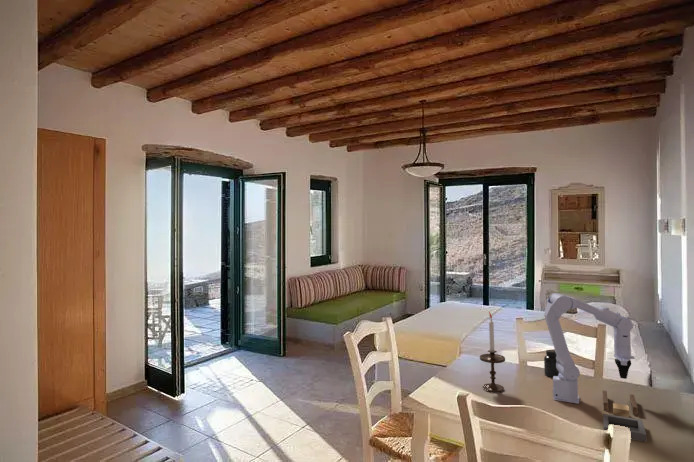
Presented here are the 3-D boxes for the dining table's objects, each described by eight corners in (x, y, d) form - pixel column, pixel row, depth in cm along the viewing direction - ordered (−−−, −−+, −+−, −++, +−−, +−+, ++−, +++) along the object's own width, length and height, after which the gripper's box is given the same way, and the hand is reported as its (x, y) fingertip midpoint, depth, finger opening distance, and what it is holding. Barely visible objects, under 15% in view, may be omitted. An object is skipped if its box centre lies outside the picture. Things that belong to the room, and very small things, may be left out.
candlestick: (479, 392, 185) (477, 313, 185) (481, 383, 195) (479, 309, 195) (505, 394, 181) (503, 314, 181) (506, 386, 191) (504, 310, 191)
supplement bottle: (561, 378, 199) (561, 353, 199) (546, 377, 200) (545, 352, 200) (557, 373, 206) (557, 349, 206) (542, 372, 207) (542, 348, 207)
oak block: (613, 418, 156) (613, 407, 156) (613, 413, 161) (612, 403, 161) (629, 421, 154) (629, 410, 154) (628, 416, 158) (628, 405, 158)
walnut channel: (603, 410, 163) (603, 402, 163) (602, 397, 175) (602, 390, 175) (637, 415, 158) (637, 407, 158) (634, 402, 170) (634, 394, 170)
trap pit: (604, 434, 145) (604, 426, 145) (603, 420, 155) (602, 413, 155) (646, 442, 139) (646, 434, 139) (642, 426, 149) (642, 420, 149)
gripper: (635, 350, 163) (636, 385, 163) (632, 341, 176) (633, 373, 176) (614, 348, 167) (615, 382, 167) (612, 340, 179) (613, 371, 179)
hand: (623, 377), depth 172 cm, fingers closed
